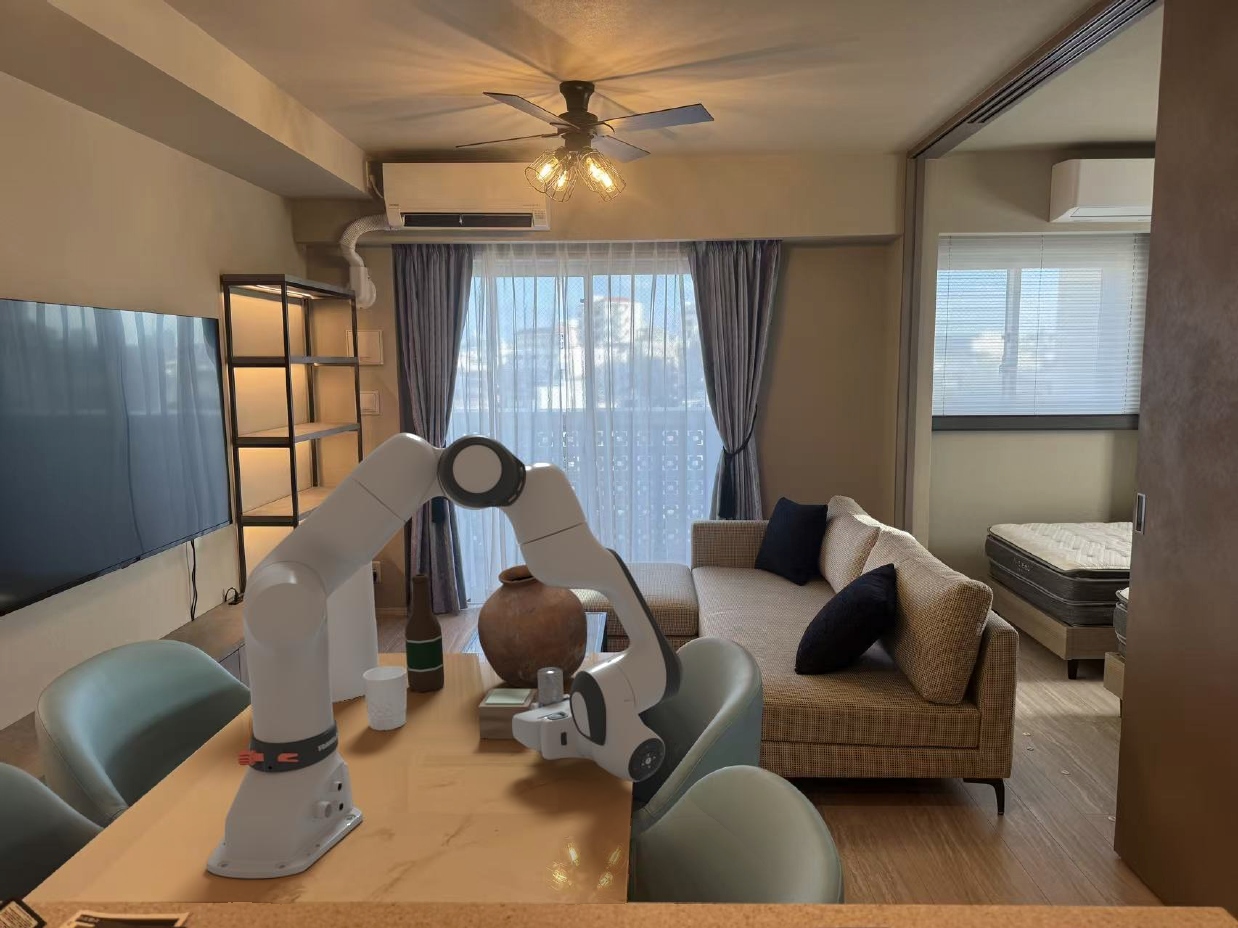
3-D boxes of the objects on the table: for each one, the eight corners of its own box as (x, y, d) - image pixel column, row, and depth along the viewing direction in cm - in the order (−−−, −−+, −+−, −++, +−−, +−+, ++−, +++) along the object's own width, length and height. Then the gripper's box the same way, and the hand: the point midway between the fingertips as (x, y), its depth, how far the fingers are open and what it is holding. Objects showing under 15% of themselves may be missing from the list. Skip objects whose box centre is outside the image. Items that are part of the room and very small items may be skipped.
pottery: (597, 665, 194) (593, 555, 192) (577, 704, 172) (572, 580, 169) (498, 664, 198) (493, 555, 195) (465, 702, 175) (459, 579, 172)
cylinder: (373, 699, 178) (364, 564, 175) (285, 706, 176) (275, 569, 173) (385, 671, 195) (377, 548, 193) (305, 677, 193) (296, 552, 191)
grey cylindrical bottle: (563, 748, 152) (560, 675, 150) (537, 748, 152) (534, 675, 151) (567, 737, 156) (564, 667, 155) (542, 737, 157) (539, 666, 155)
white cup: (415, 716, 169) (412, 665, 168) (400, 732, 161) (397, 679, 160) (375, 715, 170) (372, 665, 169) (359, 732, 162) (356, 679, 161)
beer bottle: (440, 692, 181) (434, 578, 179) (403, 693, 181) (396, 579, 179) (448, 679, 189) (442, 570, 186) (412, 680, 189) (406, 571, 186)
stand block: (529, 739, 156) (527, 705, 155) (480, 738, 157) (478, 704, 156) (538, 719, 165) (537, 687, 164) (492, 719, 166) (490, 686, 165)
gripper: (641, 694, 148) (597, 672, 160) (536, 724, 137) (496, 699, 148) (643, 729, 149) (598, 706, 160) (537, 762, 137) (498, 734, 149)
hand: (548, 702), depth 154 cm, fingers closed on grey cylindrical bottle, 4 cm apart
